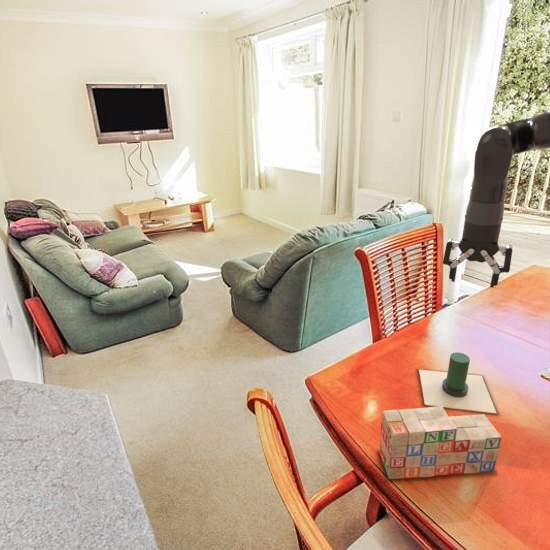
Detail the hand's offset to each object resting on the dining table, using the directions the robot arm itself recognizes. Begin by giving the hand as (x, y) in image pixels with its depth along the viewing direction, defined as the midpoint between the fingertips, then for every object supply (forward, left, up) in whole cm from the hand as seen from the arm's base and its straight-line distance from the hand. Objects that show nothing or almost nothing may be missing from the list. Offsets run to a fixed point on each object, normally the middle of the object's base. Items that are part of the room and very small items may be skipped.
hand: (471, 283), depth 92 cm
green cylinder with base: (+2, +7, -27) cm, 28 cm away
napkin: (+2, +7, -27) cm, 28 cm away
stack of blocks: (+10, +31, -27) cm, 43 cm away
